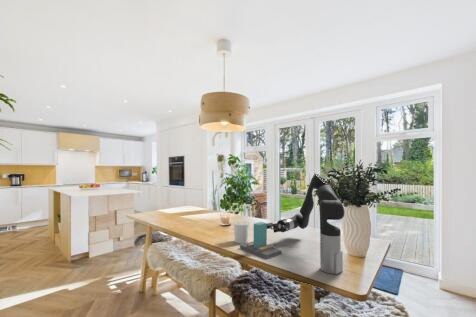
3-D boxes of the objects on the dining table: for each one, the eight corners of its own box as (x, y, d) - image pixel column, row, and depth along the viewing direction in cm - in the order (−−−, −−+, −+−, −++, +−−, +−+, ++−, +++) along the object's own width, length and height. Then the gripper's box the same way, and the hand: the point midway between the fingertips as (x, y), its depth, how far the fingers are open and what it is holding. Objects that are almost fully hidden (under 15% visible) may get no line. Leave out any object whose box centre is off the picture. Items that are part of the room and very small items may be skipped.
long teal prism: (266, 247, 144) (266, 223, 144) (259, 249, 140) (259, 225, 140) (261, 245, 147) (261, 221, 147) (253, 247, 143) (253, 223, 143)
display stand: (281, 253, 139) (281, 247, 139) (267, 259, 131) (267, 252, 131) (254, 244, 156) (254, 238, 156) (240, 248, 148) (240, 242, 148)
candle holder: (231, 240, 163) (231, 222, 164) (245, 238, 167) (245, 221, 167) (236, 244, 154) (236, 225, 154) (251, 243, 158) (251, 224, 158)
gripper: (277, 217, 165) (260, 221, 154) (294, 221, 154) (277, 225, 143) (277, 228, 164) (260, 233, 154) (294, 233, 154) (277, 238, 143)
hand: (268, 229), depth 149 cm, fingers open, 8 cm apart
